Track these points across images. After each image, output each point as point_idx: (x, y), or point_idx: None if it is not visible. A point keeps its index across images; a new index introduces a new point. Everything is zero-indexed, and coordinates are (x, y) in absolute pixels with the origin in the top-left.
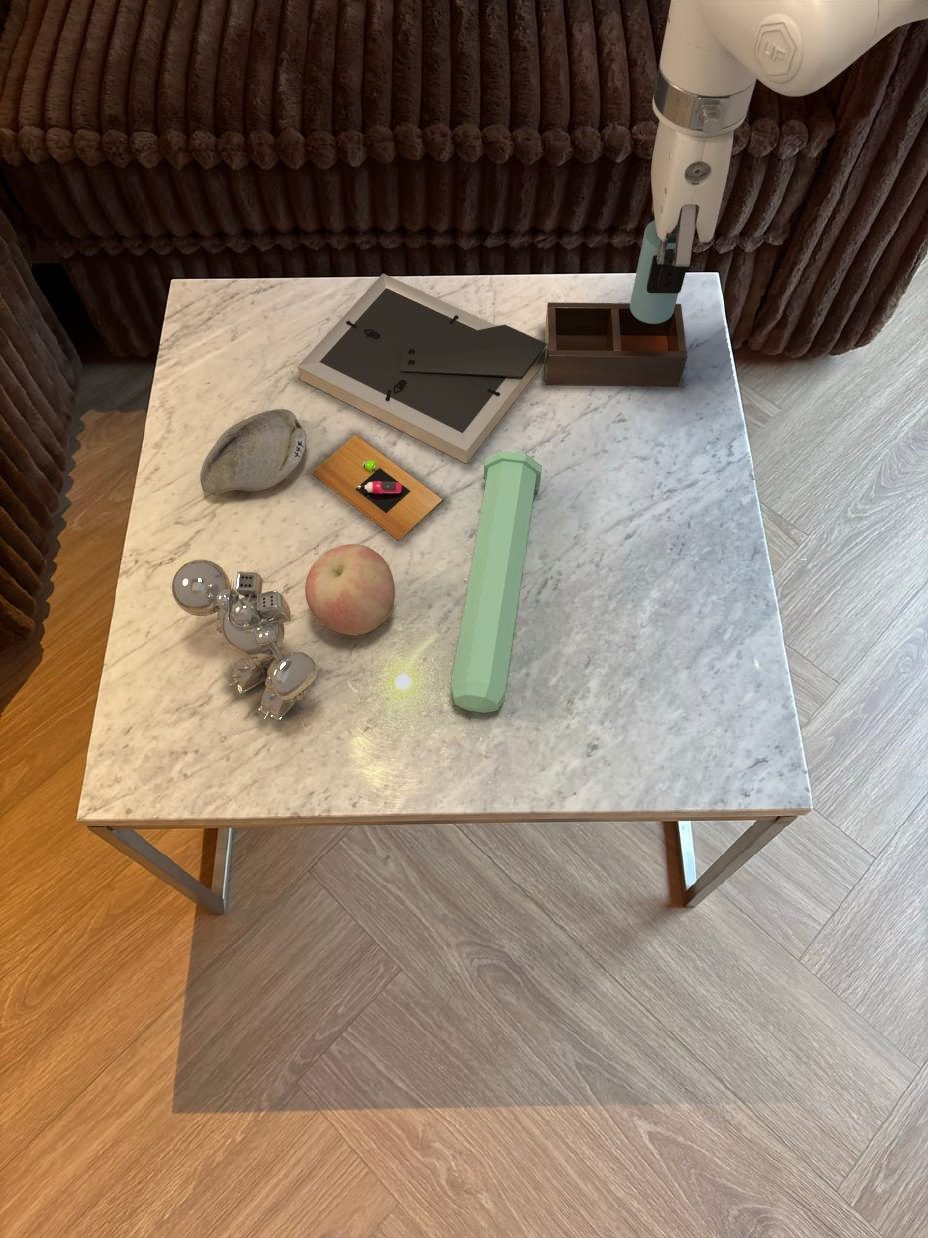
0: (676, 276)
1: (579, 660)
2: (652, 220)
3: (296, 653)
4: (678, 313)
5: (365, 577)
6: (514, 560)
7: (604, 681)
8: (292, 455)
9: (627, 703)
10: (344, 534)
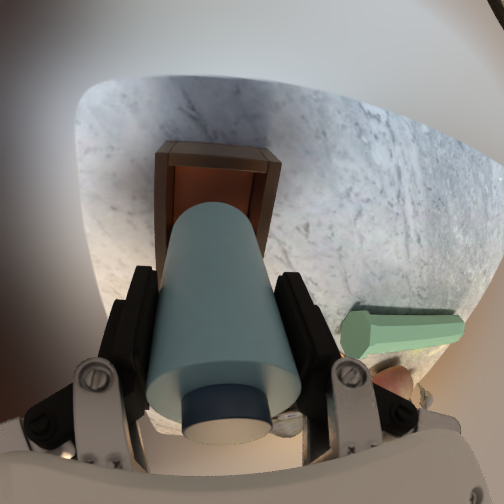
0: (332, 339)
1: (459, 277)
2: (147, 401)
3: (426, 406)
4: (179, 160)
5: (408, 397)
6: (425, 333)
7: (471, 265)
8: (295, 416)
9: (482, 255)
10: None
